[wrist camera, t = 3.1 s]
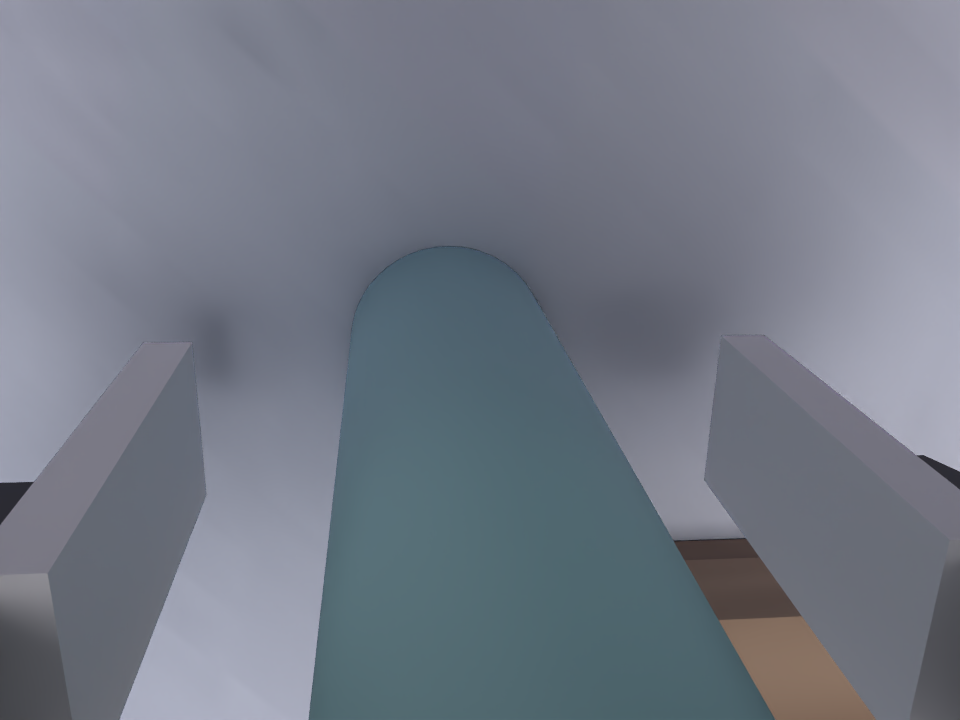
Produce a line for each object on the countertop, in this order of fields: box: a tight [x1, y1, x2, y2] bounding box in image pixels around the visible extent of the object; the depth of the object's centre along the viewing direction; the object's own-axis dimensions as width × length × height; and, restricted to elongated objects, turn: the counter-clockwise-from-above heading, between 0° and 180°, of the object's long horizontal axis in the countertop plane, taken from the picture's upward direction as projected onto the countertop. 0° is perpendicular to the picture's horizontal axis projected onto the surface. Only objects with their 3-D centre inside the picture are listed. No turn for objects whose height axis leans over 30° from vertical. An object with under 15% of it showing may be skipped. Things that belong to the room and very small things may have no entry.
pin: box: [309, 246, 775, 720], centre depth 11 cm, size 4×4×16 cm
